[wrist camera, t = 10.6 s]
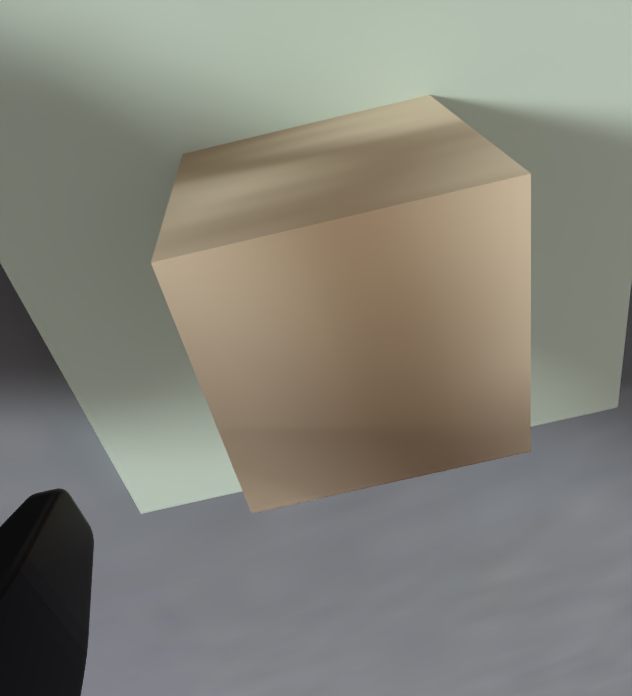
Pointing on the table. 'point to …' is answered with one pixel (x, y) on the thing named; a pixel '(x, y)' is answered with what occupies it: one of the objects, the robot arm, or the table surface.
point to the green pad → (274, 115)
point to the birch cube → (354, 299)
